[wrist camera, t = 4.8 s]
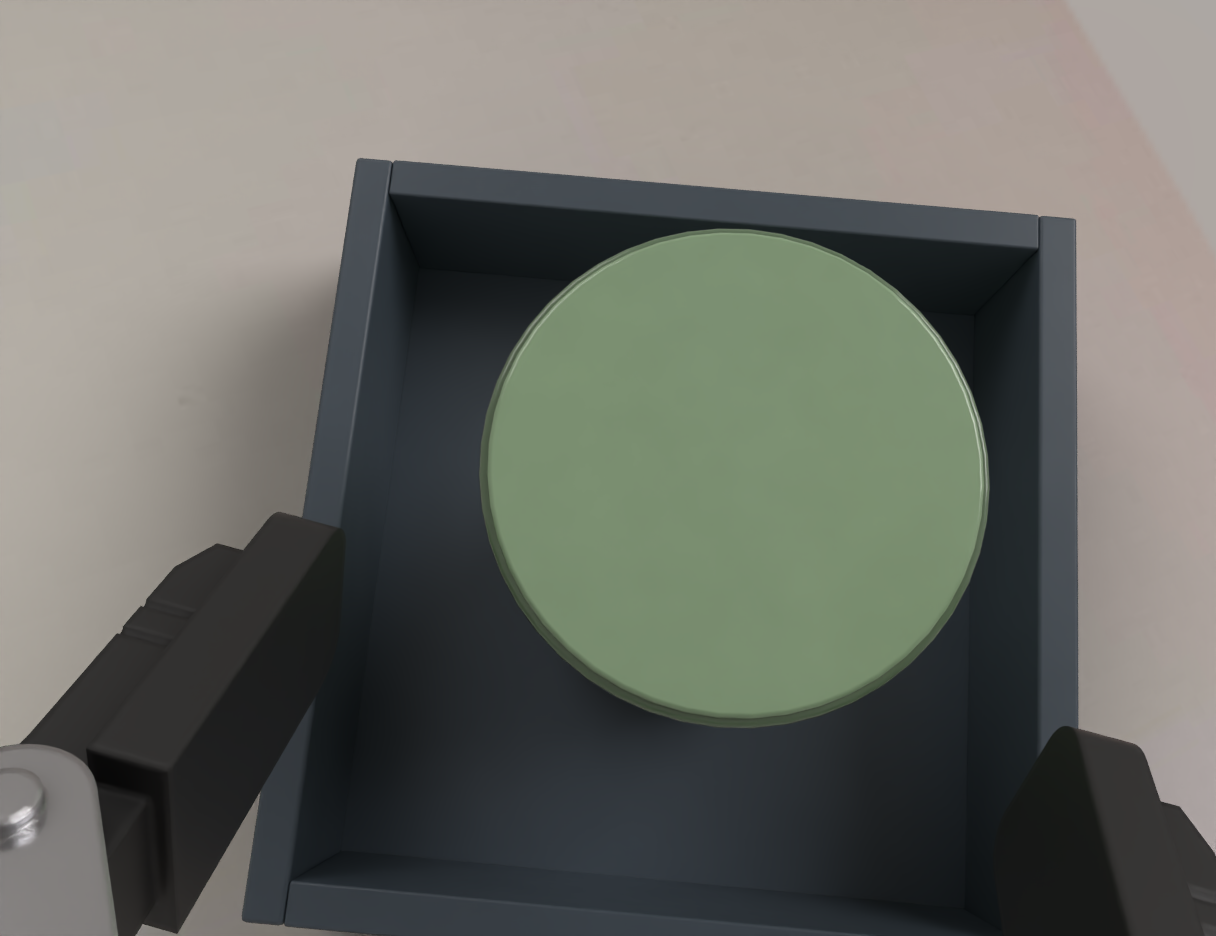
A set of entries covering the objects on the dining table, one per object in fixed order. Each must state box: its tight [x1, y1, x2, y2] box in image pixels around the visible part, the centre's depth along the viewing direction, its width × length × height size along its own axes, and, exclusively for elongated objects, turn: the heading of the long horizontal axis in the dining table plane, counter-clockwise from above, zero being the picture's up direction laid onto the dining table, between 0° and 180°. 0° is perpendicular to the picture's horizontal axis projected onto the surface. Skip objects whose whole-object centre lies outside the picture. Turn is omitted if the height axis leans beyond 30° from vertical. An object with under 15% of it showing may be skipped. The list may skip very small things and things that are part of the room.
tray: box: [242, 158, 1078, 936], centre depth 20 cm, size 13×13×4 cm
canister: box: [479, 229, 990, 729], centre depth 17 cm, size 6×6×10 cm
